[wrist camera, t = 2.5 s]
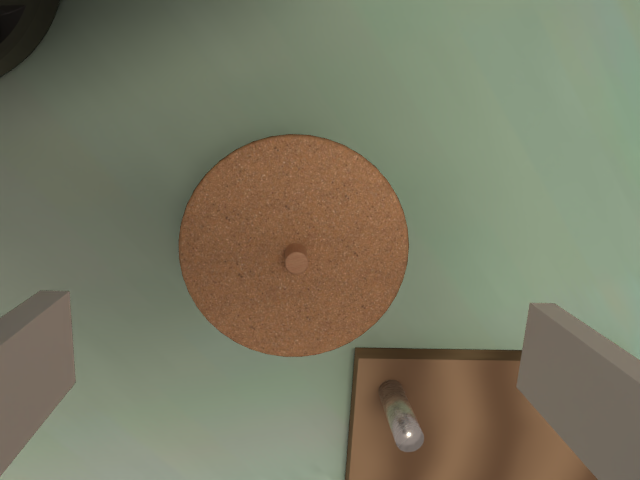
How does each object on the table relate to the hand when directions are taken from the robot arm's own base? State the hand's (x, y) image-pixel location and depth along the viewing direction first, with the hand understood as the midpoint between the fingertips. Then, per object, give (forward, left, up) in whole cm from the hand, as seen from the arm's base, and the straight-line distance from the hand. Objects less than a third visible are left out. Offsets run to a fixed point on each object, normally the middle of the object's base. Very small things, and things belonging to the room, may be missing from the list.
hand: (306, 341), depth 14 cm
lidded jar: (0, 0, -17) cm, 17 cm away
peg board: (+14, -18, -17) cm, 28 cm away
